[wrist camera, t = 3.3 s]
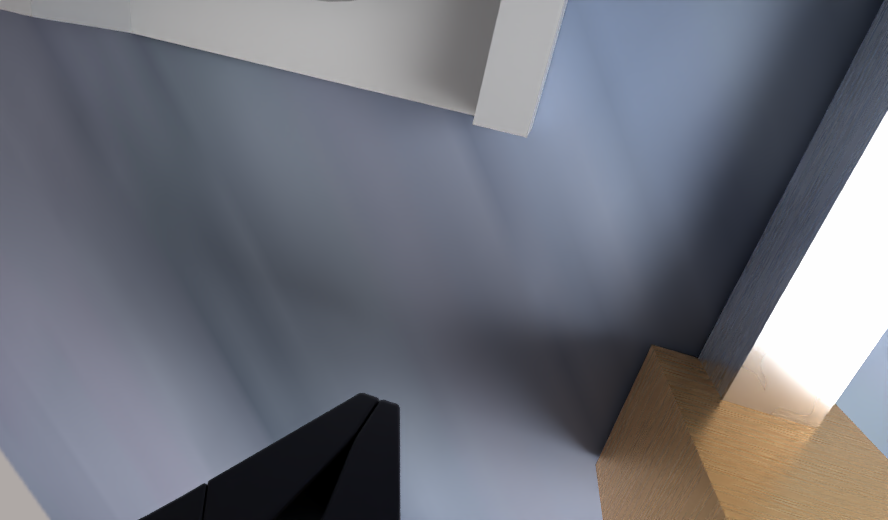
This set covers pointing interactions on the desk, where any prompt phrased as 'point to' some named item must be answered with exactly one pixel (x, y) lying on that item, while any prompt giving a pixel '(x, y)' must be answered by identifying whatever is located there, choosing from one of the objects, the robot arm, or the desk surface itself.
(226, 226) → the desk surface
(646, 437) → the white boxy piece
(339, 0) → the white cylinder
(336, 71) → the gray square tray
